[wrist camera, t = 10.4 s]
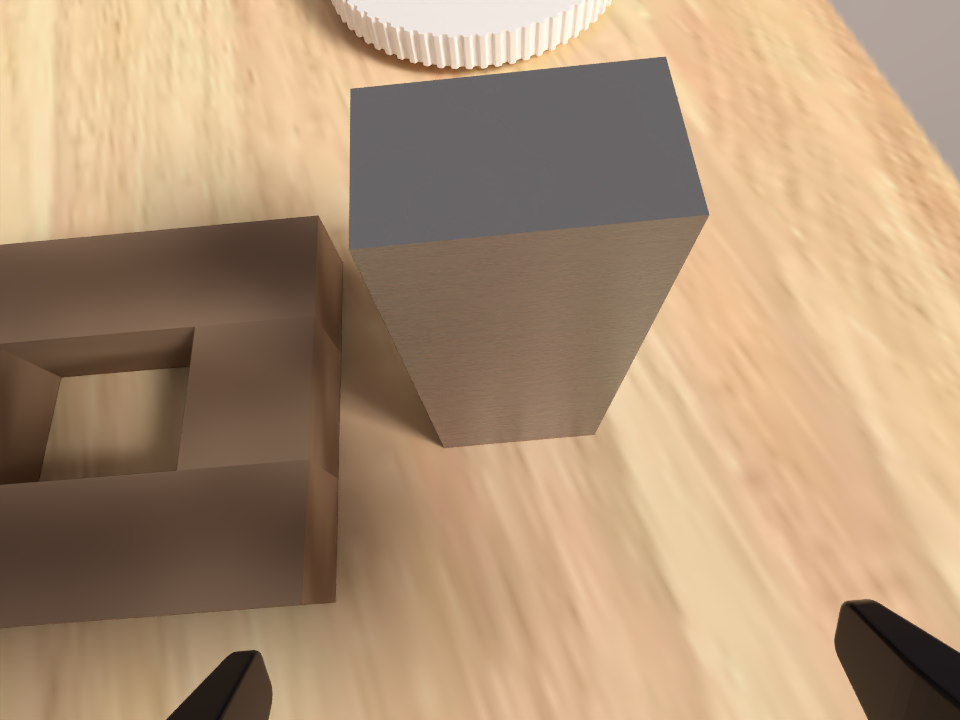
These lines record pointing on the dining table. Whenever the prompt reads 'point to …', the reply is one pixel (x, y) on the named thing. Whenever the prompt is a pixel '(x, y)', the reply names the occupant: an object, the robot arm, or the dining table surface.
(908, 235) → the dining table surface
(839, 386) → the dining table surface
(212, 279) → the holder box
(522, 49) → the plastic lid
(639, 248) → the gray peg in slot
